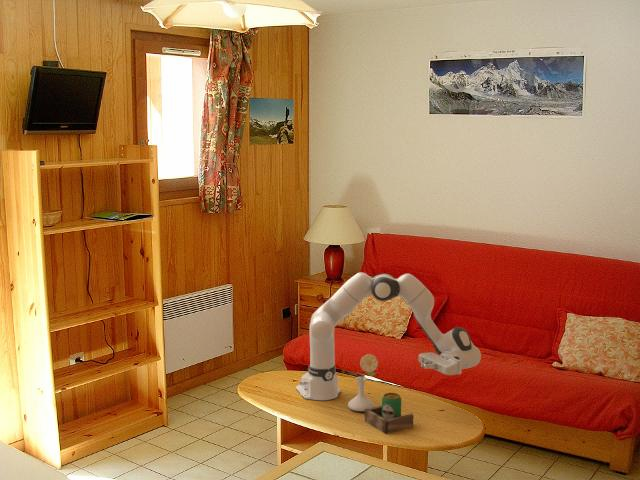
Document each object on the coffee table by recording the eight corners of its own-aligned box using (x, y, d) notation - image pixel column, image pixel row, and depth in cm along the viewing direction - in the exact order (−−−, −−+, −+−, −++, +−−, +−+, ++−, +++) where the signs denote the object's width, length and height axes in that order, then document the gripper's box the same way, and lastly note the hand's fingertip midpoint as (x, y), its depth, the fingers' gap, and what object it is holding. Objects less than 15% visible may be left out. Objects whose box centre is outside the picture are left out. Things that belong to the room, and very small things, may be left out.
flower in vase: (346, 413, 327) (346, 357, 323) (349, 403, 338) (349, 349, 334) (376, 414, 325) (377, 358, 321) (378, 404, 336) (379, 350, 332)
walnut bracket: (364, 420, 318) (364, 409, 318) (392, 414, 325) (392, 403, 324) (385, 433, 306) (385, 421, 305) (413, 426, 312) (413, 415, 312)
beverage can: (378, 424, 315) (378, 396, 313) (387, 418, 321) (387, 390, 319) (395, 428, 311) (396, 400, 309) (404, 421, 317) (404, 394, 315)
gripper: (434, 347, 336) (408, 351, 329) (464, 361, 318) (438, 365, 311) (433, 361, 337) (408, 365, 330) (463, 375, 319) (437, 380, 312)
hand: (423, 366), depth 320 cm, fingers closed
